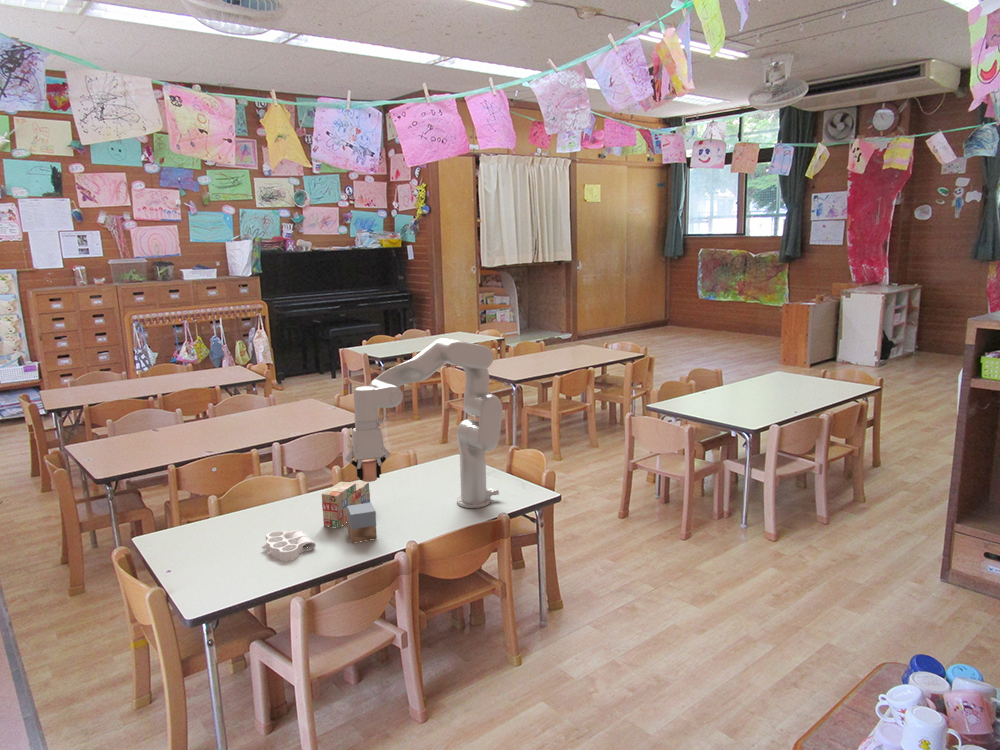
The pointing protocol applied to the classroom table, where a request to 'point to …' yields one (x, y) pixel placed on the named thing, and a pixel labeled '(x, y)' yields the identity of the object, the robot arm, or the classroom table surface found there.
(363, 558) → the classroom table surface
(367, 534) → the tower base
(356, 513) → the tower top
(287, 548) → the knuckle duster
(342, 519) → the stack of blocks
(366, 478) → the terracotta cylinder
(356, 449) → the robot arm
